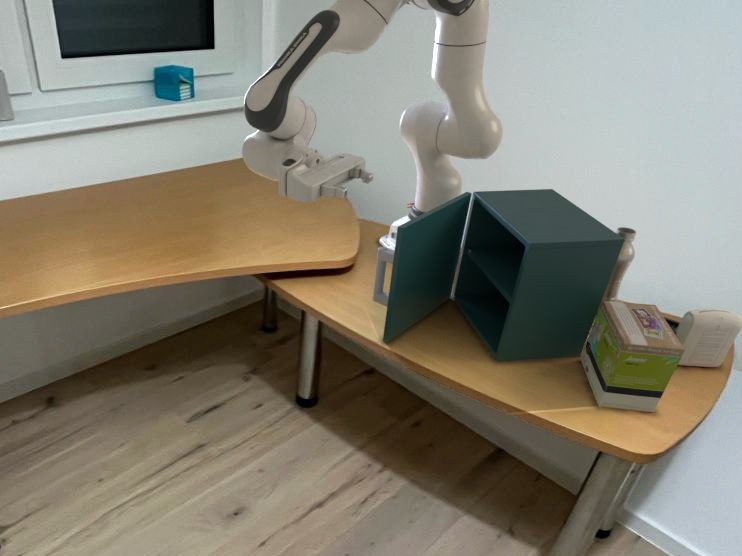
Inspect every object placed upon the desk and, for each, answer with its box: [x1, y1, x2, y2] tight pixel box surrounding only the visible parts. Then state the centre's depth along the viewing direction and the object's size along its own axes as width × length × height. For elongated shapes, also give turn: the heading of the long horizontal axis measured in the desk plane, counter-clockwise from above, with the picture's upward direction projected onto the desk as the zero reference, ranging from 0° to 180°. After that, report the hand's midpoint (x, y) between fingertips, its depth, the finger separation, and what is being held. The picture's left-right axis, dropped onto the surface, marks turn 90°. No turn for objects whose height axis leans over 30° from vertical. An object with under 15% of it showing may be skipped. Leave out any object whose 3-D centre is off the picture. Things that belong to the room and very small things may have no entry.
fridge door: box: [372, 191, 473, 343], centre depth 123 cm, size 7×26×26 cm, turn 137°
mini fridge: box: [451, 188, 625, 363], centre depth 120 cm, size 18×26×26 cm
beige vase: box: [597, 226, 637, 313], centre depth 127 cm, size 6×7×20 cm
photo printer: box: [675, 308, 742, 368], centre depth 113 cm, size 10×4×12 cm, turn 85°
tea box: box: [580, 300, 685, 413], centre depth 105 cm, size 15×10×15 cm, turn 169°
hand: (358, 186), depth 114 cm, fingers open, 8 cm apart
